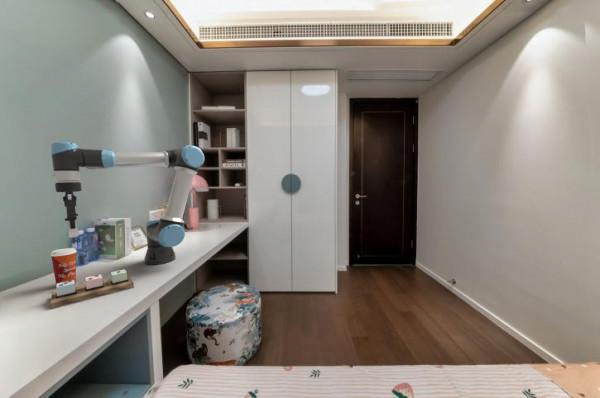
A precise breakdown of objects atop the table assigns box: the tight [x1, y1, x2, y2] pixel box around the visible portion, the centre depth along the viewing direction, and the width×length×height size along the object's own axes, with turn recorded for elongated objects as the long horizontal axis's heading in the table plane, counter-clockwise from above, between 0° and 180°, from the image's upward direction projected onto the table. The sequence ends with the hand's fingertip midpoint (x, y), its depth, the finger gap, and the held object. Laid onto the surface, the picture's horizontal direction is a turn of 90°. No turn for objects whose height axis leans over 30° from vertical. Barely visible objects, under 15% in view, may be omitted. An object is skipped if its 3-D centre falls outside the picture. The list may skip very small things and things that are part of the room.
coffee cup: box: [49, 247, 78, 287], centre depth 104 cm, size 8×8×15 cm
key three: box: [55, 280, 76, 296], centre depth 91 cm, size 5×5×4 cm
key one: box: [110, 269, 128, 283], centre depth 102 cm, size 5×5×4 cm
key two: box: [84, 274, 103, 289], centre depth 96 cm, size 5×5×4 cm
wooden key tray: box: [50, 274, 135, 309], centre depth 97 cm, size 24×12×2 cm, turn 134°
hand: (73, 234), depth 99 cm, fingers open, 13 cm apart
